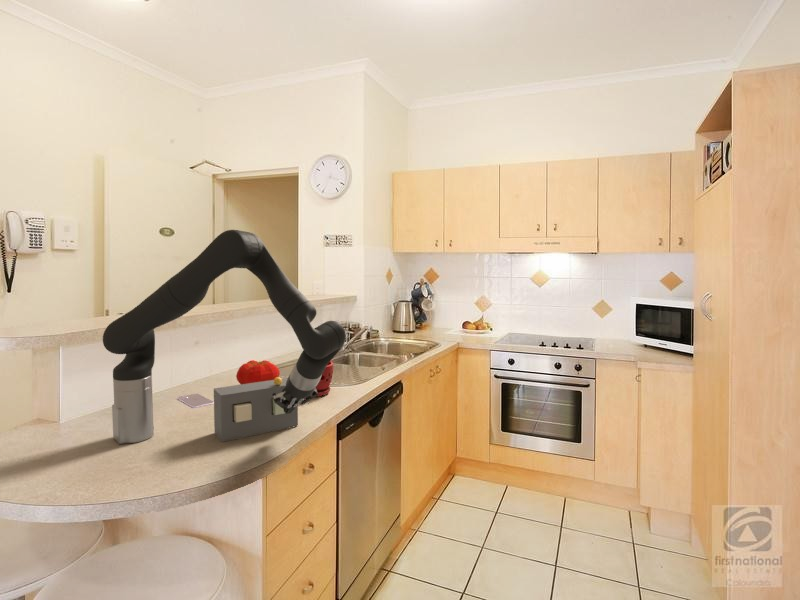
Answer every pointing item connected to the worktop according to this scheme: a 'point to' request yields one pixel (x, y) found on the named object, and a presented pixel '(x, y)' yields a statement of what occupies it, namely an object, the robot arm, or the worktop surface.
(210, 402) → the mobile phone
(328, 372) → the plant pot
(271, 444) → the worktop surface
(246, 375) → the tomato
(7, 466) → the worktop surface
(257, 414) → the keypad console
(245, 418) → the block
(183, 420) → the worktop surface
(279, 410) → the key sage
